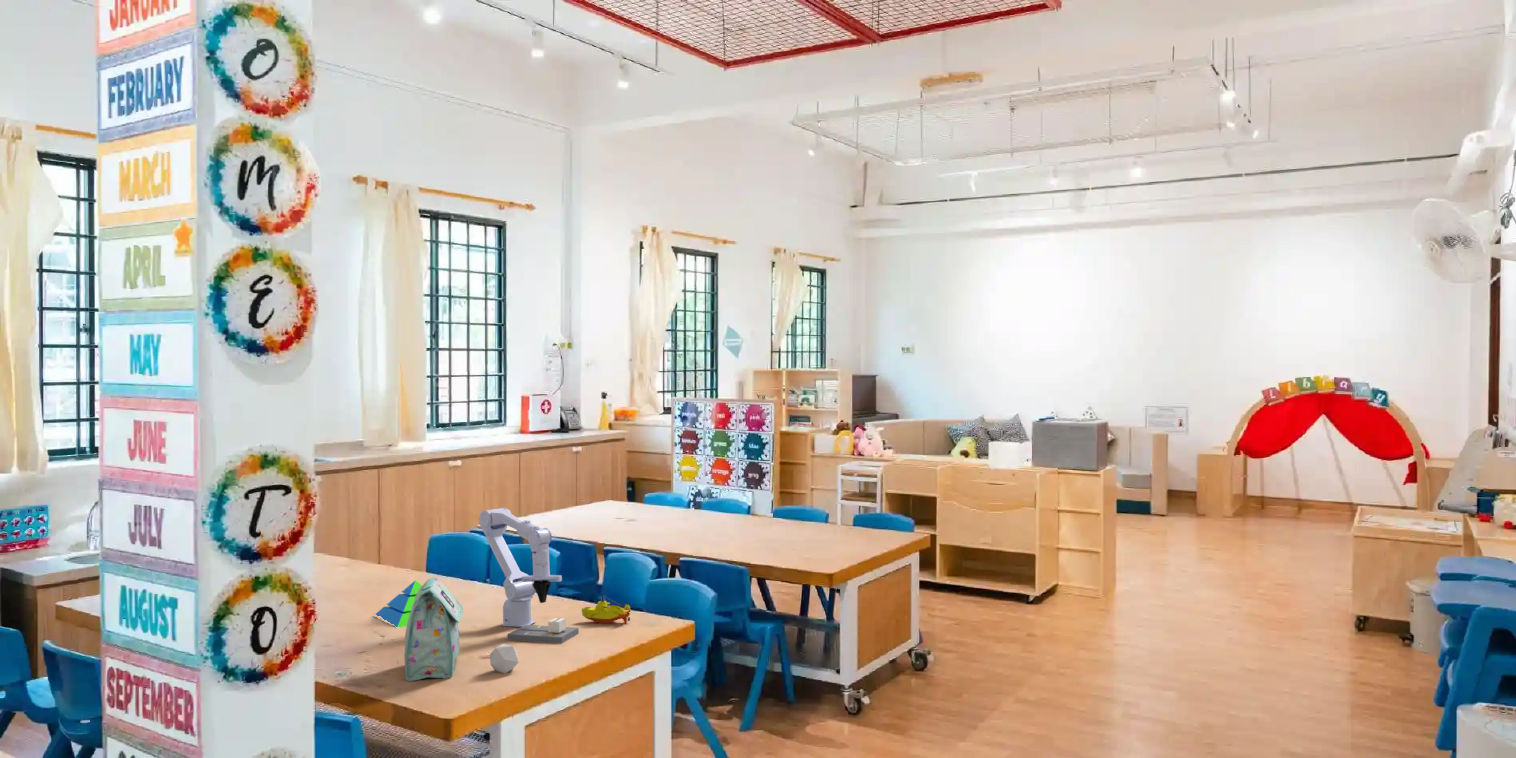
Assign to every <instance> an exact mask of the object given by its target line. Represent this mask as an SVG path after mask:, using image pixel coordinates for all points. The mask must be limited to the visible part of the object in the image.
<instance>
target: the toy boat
mask: <svg viewBox="0 0 1516 758" xmlns="http://www.w3.org/2000/svg"><path fill="white" fill-rule="evenodd" d="M604 598H607V600H610V601H611V602H613V603H615V604H617V605H614V604H611V602H607V600H604ZM581 613H582V616H583V618H585V619H587V620H589V621H592V622H595V623H598V624H599V623H603V624H604V623H609V624H610V623H613V622H615V621H618V620H623V622H624V624H628V622H631V617H629V616H630V614H631V607H630V605H629V604H625V605H624V606H623V605H622V604H620V603H618V602H616V601H614V600H612V599H611V598H609V597H607V596H605V595H603V594H602V596H600V597H599V601H598V602H597V603H596V606H595V607H594V606H589V607H588V606H586V607H582V608H581Z"/></svg>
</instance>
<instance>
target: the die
mask: <svg viewBox="0 0 1516 758" xmlns="http://www.w3.org/2000/svg"><path fill="white" fill-rule="evenodd" d="M489 659H490V660H489V662H490V667H492V668H493V670H494V671H496V672H498V673H500V674H504V675H505V674H507V673H509V672H510V671H513V669H514V668H515V667H516V666H517V665H518V664H519V661H520V660H519V653H518V651H517V649H516V648H515V647H514V645H510V644H507V643H504V642H503V643H502V644H500V645H497V647H494V649H493V651H491V653H490V654H489Z"/></svg>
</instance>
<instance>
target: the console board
mask: <svg viewBox="0 0 1516 758" xmlns="http://www.w3.org/2000/svg"><path fill="white" fill-rule="evenodd" d="M579 630H580V629H579V627H575V626H574V627H572V626H571V627H570V626H566V629H565V630H563V631H561V632H560V633H556V632H548V625H536V624H531V625H525V626H523V627H518V628H517V629H515V630H513V631H511V632H509V633H507V634H506V635H507V636H506V637H507V641H516V642H517V641H518V642H519V641H520V642H535V643H538V642H539V643H546V644H547V643H551V644H563V643H565V642H567V641H568V640H570V639H571V638H573V637H576V636H577V635H578V634H579Z"/></svg>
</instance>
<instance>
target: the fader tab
mask: <svg viewBox="0 0 1516 758" xmlns="http://www.w3.org/2000/svg"><path fill="white" fill-rule="evenodd" d="M547 624H548V625H547V626H548V632H556V633H560V632H561V631H563V630H565V629H566V627H567V625H566V624H567V619H566V618H564V617H563V618H562V617H554V618H552V619H550V620H548V622H547Z"/></svg>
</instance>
